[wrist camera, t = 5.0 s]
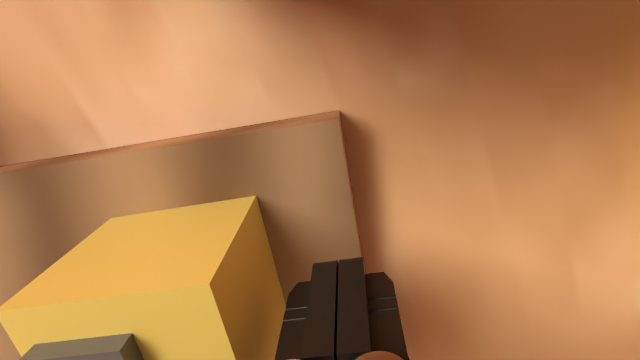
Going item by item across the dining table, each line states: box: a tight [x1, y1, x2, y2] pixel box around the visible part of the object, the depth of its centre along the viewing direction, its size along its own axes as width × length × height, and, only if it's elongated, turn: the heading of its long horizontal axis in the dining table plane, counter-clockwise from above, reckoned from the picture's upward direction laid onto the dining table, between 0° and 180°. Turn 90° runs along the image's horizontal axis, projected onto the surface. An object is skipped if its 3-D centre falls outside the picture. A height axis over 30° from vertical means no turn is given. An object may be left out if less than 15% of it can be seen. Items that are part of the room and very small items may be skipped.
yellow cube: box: [0, 196, 286, 360], centre depth 11 cm, size 5×5×5 cm
